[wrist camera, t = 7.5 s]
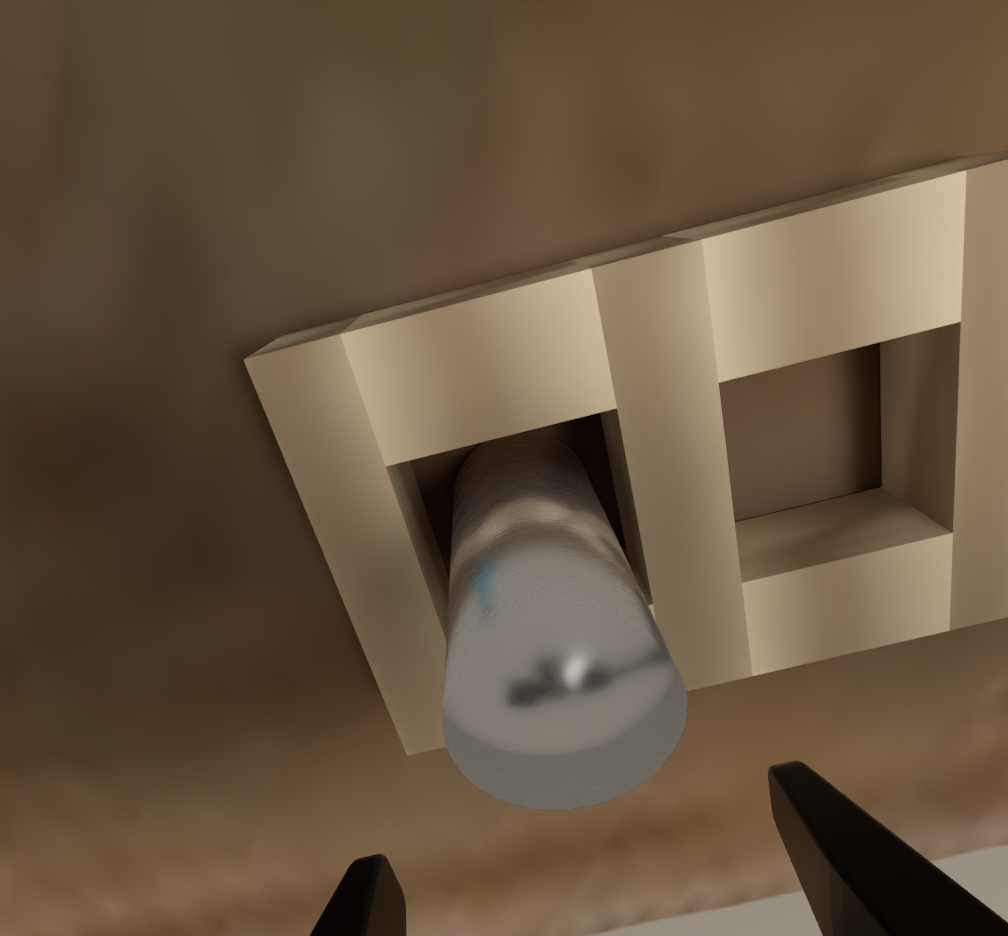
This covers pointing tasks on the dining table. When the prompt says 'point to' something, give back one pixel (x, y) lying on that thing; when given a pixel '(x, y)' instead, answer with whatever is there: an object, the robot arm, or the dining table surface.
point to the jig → (685, 427)
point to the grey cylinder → (549, 637)
